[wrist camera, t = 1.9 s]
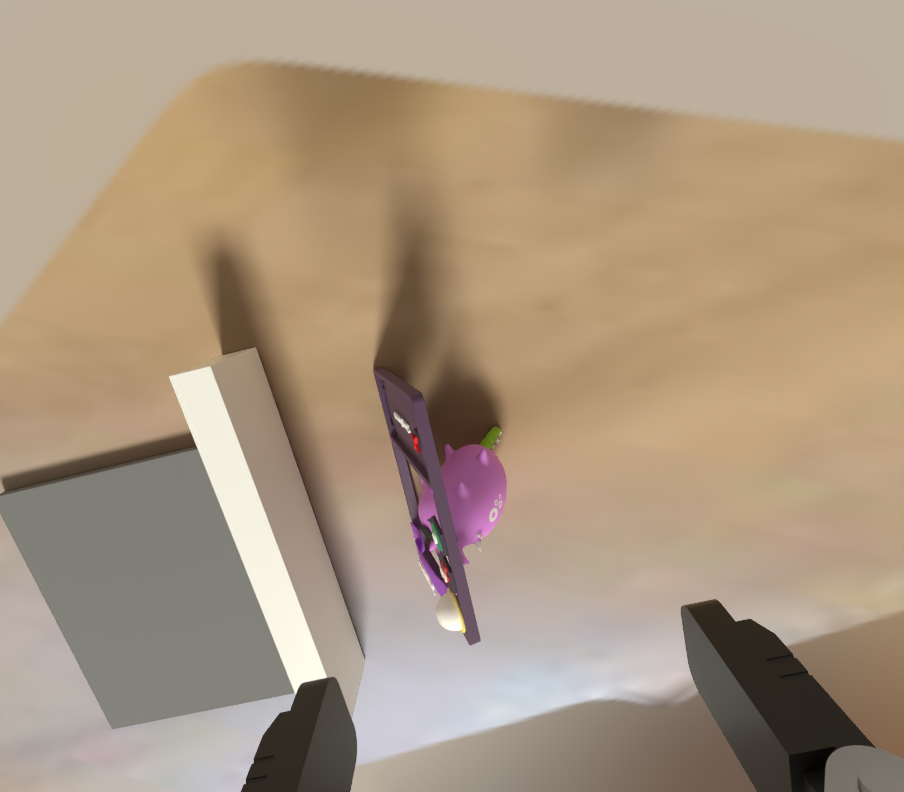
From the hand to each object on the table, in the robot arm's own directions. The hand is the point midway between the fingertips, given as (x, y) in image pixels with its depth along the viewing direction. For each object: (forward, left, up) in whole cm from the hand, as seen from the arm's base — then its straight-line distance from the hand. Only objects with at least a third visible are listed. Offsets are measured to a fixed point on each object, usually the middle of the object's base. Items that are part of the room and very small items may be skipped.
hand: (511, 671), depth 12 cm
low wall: (+9, 0, -11) cm, 14 cm away
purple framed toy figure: (+1, -1, -12) cm, 12 cm away
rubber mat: (+16, +2, -11) cm, 19 cm away
